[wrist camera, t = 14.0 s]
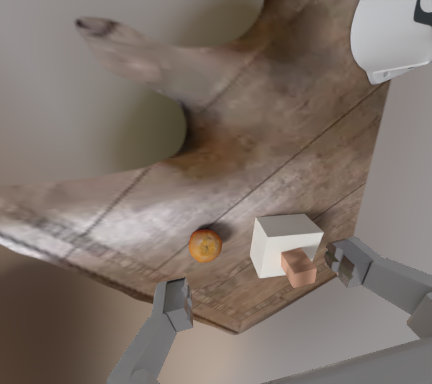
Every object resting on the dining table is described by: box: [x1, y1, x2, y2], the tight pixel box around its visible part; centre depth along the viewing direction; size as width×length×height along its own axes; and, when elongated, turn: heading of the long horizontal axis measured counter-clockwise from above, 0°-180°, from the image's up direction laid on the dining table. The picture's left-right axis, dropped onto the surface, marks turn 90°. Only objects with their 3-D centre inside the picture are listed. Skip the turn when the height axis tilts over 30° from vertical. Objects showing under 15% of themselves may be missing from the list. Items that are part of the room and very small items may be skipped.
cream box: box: [250, 214, 324, 278], centre depth 47 cm, size 14×14×8 cm
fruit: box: [189, 229, 222, 262], centre depth 44 cm, size 8×8×8 cm
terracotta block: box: [281, 247, 317, 288], centre depth 41 cm, size 5×5×6 cm
